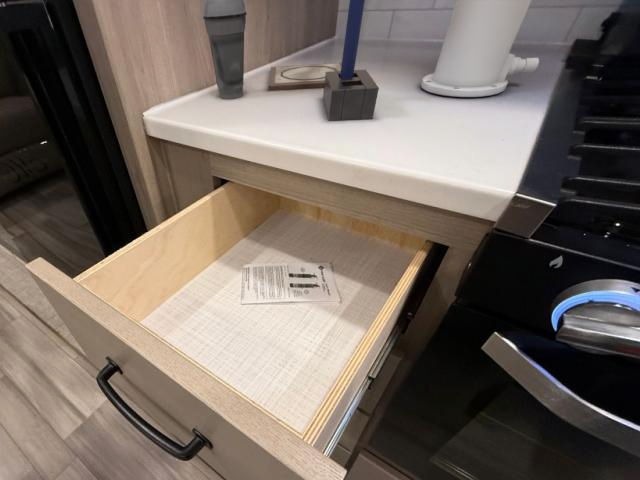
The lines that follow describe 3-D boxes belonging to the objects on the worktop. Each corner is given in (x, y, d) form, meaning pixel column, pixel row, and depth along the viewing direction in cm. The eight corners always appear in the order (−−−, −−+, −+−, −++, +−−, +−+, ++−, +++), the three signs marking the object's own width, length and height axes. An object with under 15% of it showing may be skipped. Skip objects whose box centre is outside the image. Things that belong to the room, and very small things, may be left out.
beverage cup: (246, 100, 58) (237, -65, 44) (208, 101, 60) (187, -59, 45) (253, 89, 63) (247, -63, 49) (217, 90, 65) (202, -58, 50)
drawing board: (343, 66, 71) (344, 61, 70) (353, 85, 60) (354, 79, 59) (271, 71, 73) (271, 66, 72) (268, 90, 62) (268, 84, 61)
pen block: (360, 97, 55) (365, 69, 52) (372, 119, 48) (379, 87, 45) (322, 99, 56) (325, 71, 53) (328, 120, 48) (331, 90, 45)
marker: (348, 102, 54) (364, -5, 44) (349, 106, 52) (366, -4, 43) (335, 102, 54) (349, -3, 45) (337, 106, 53) (351, -2, 43)
